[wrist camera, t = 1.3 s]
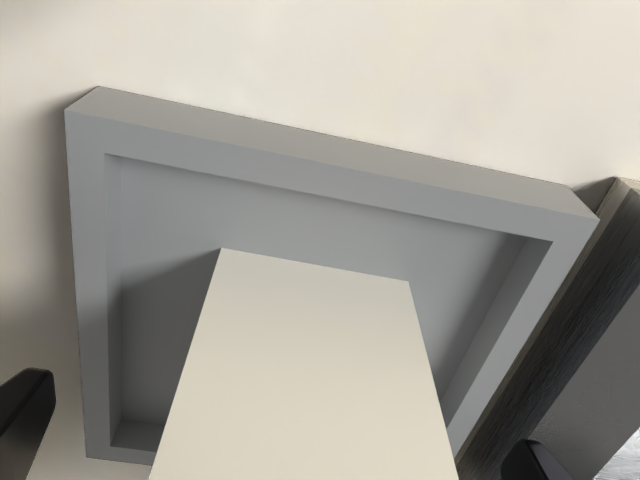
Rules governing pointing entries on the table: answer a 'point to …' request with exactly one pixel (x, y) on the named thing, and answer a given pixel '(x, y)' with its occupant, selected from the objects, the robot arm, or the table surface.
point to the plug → (304, 380)
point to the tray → (290, 248)
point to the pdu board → (577, 363)
